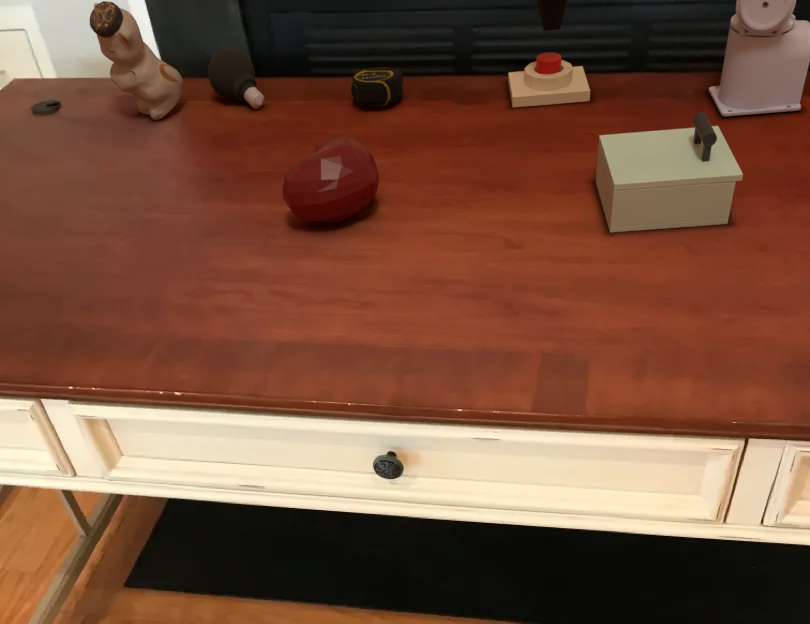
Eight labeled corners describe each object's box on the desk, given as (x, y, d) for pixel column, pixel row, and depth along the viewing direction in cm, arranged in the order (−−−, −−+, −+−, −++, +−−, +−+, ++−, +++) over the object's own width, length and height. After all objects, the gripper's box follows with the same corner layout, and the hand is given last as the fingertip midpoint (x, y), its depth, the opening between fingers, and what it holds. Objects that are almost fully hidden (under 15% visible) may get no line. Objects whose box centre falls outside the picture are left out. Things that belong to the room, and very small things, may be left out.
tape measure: (404, 90, 124) (402, 61, 121) (401, 111, 119) (399, 82, 116) (355, 93, 124) (352, 64, 122) (351, 114, 120) (347, 85, 117)
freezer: (704, 173, 102) (711, 132, 98) (727, 224, 94) (735, 182, 91) (595, 181, 102) (598, 141, 99) (609, 232, 95) (613, 191, 91)
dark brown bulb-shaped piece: (246, 86, 118) (202, 40, 121) (238, 129, 124) (195, 85, 126) (284, 79, 122) (240, 35, 125) (274, 122, 127) (232, 79, 130)
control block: (582, 76, 122) (583, 53, 120) (589, 101, 116) (591, 77, 114) (508, 82, 122) (508, 59, 120) (512, 107, 117) (512, 84, 115)
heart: (408, 188, 103) (338, 186, 108) (393, 120, 98) (319, 121, 103) (358, 242, 97) (284, 238, 101) (338, 173, 91) (262, 171, 96)
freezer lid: (717, 131, 98) (723, 96, 95) (742, 181, 91) (749, 144, 88) (598, 141, 99) (601, 107, 96) (613, 190, 91) (616, 155, 89)
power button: (559, 65, 118) (560, 51, 117) (562, 74, 116) (562, 60, 115) (535, 67, 119) (535, 53, 117) (537, 77, 117) (537, 62, 115)
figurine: (112, 115, 127) (74, -4, 115) (180, 96, 129) (149, -22, 118) (129, 137, 121) (90, 15, 110) (199, 116, 124) (168, -5, 112)
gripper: (514, -119, 108) (513, 5, 118) (524, -85, 99) (522, 47, 109) (573, -125, 108) (567, 0, 118) (589, -92, 98) (581, 42, 108)
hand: (550, 23), depth 113 cm, fingers open, 4 cm apart
